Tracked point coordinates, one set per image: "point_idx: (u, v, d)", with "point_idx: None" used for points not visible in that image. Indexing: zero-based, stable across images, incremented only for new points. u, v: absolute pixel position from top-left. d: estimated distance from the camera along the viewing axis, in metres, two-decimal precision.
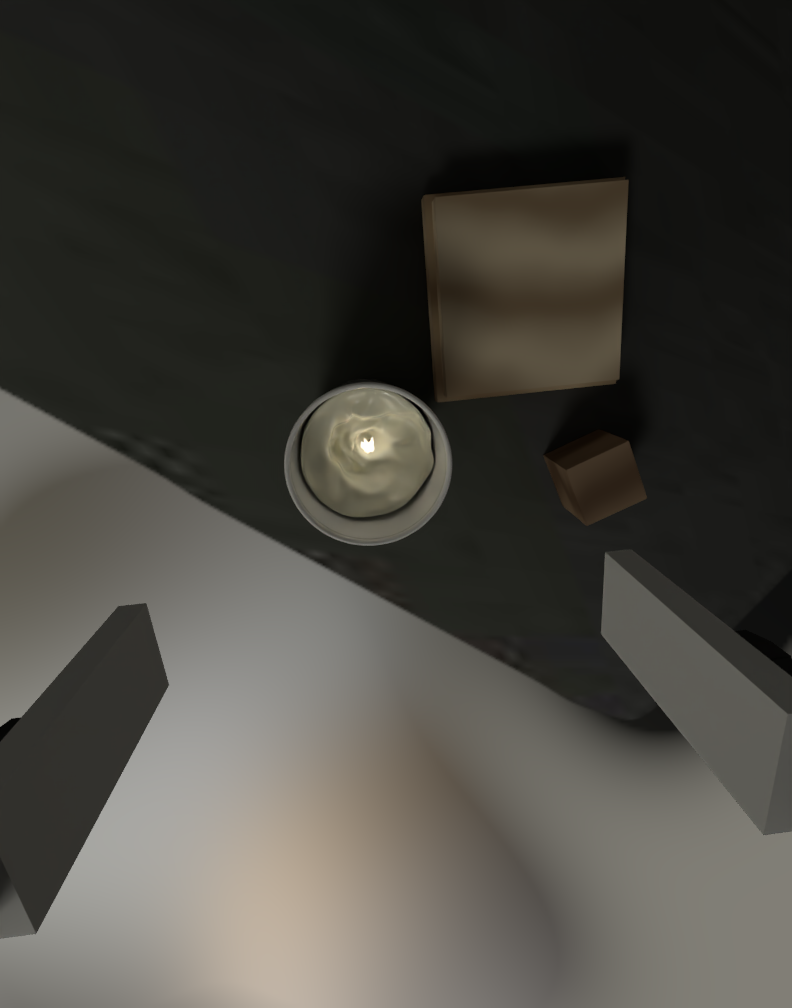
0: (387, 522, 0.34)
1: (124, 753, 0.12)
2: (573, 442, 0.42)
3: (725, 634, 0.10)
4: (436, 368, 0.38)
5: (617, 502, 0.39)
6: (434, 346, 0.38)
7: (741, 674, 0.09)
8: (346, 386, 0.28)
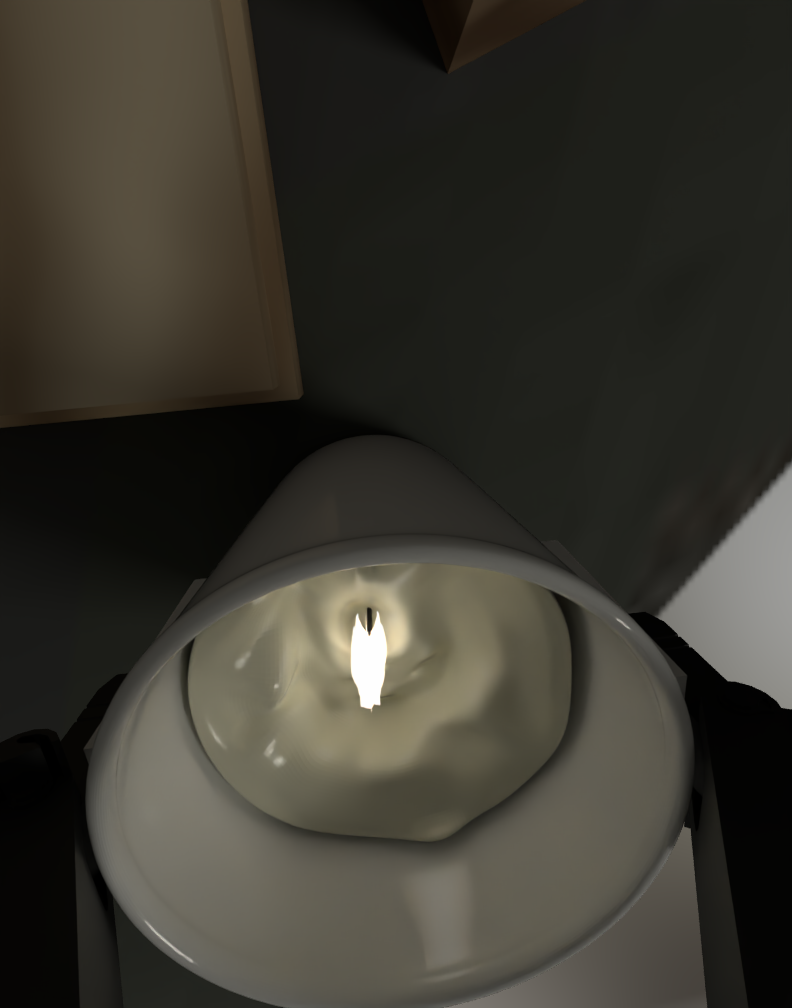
0: (600, 653, 0.11)
1: None
2: None
3: None
4: (218, 404, 0.16)
5: None
6: (168, 409, 0.16)
7: None
8: (114, 896, 0.08)
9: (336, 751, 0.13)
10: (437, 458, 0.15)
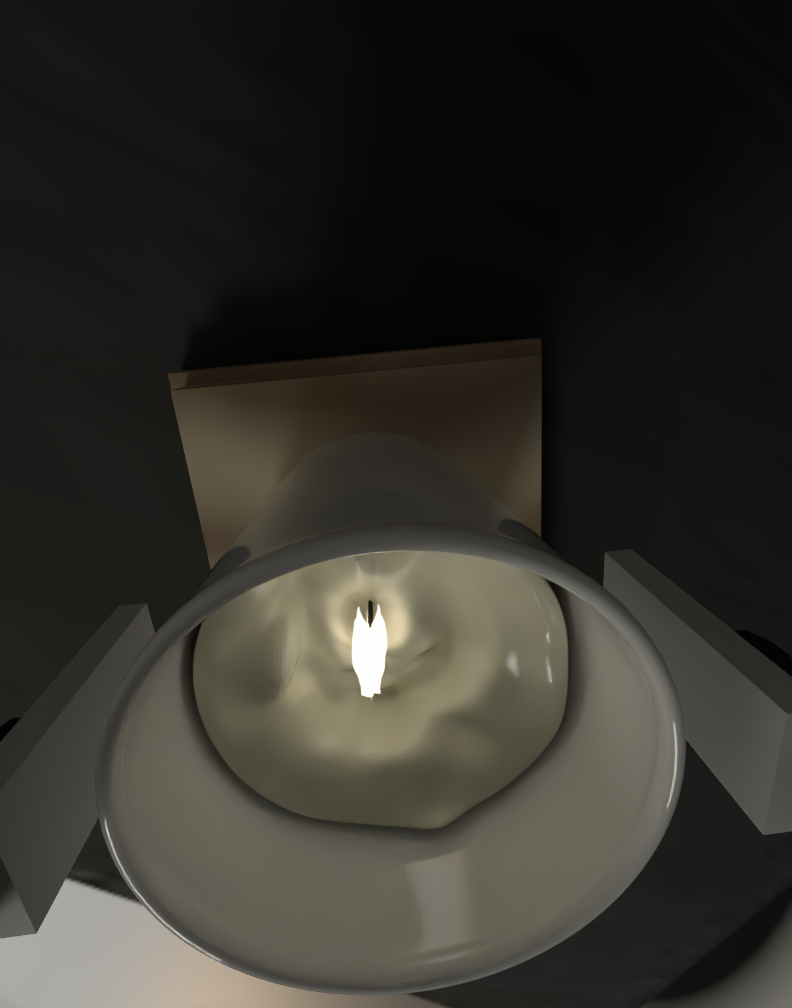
0: (596, 643, 0.11)
1: None
2: None
3: (725, 634, 0.10)
4: None
5: None
6: None
7: (741, 674, 0.09)
8: (122, 874, 0.09)
9: (337, 740, 0.13)
10: (437, 454, 0.15)
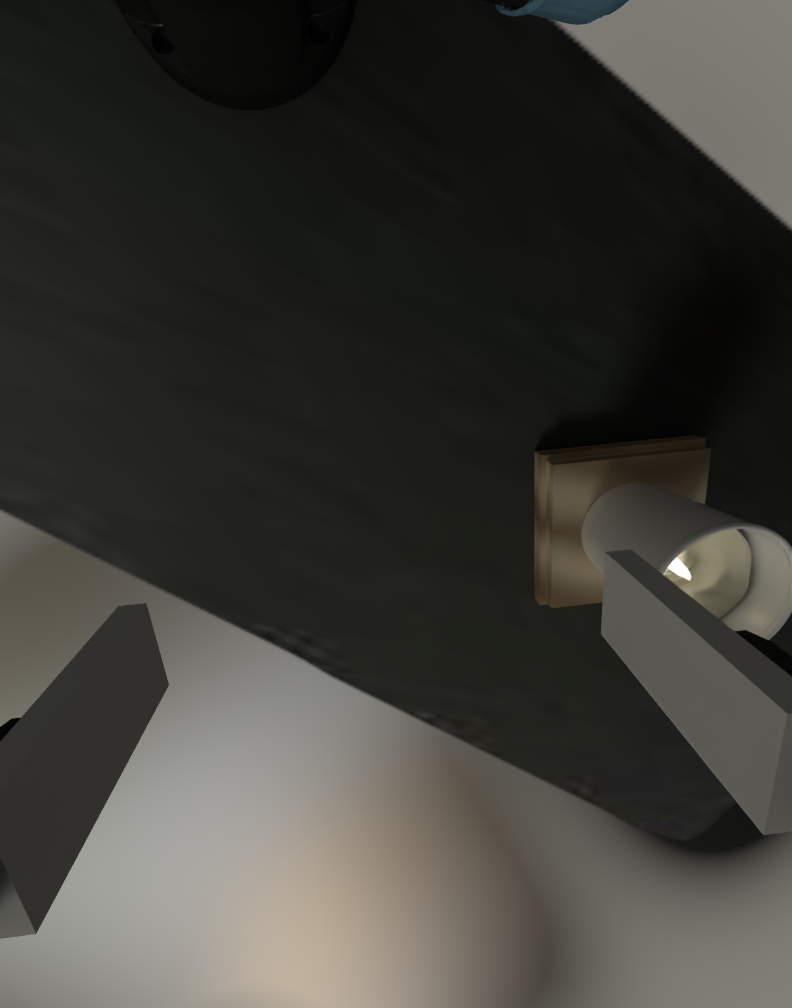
0: (763, 560, 0.34)
1: (124, 753, 0.12)
2: None
3: (725, 634, 0.10)
4: (540, 580, 0.46)
5: None
6: (540, 563, 0.45)
7: (741, 674, 0.09)
8: None
9: None
10: None
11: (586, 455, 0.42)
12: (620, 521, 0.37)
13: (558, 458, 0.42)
